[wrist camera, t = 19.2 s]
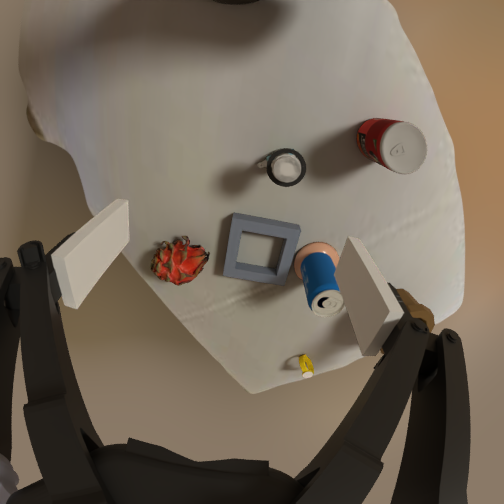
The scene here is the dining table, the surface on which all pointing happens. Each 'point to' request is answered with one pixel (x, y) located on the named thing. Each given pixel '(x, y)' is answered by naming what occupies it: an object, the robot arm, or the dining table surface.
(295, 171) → the push button
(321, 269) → the beverage can
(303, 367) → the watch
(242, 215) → the grey square frame
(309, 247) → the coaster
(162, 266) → the dragon fruit
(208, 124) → the dining table surface
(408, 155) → the canned food
